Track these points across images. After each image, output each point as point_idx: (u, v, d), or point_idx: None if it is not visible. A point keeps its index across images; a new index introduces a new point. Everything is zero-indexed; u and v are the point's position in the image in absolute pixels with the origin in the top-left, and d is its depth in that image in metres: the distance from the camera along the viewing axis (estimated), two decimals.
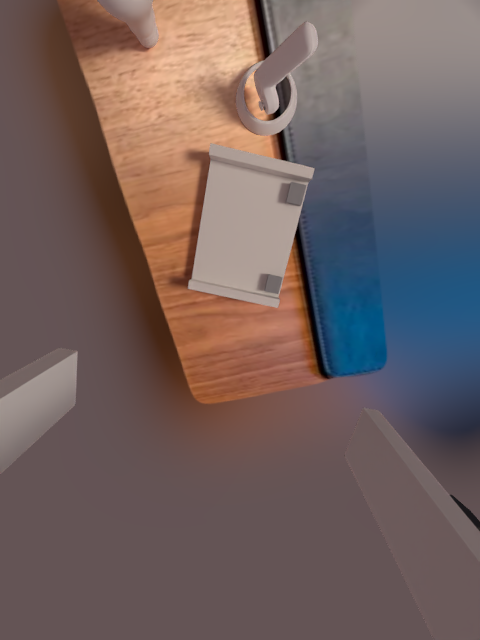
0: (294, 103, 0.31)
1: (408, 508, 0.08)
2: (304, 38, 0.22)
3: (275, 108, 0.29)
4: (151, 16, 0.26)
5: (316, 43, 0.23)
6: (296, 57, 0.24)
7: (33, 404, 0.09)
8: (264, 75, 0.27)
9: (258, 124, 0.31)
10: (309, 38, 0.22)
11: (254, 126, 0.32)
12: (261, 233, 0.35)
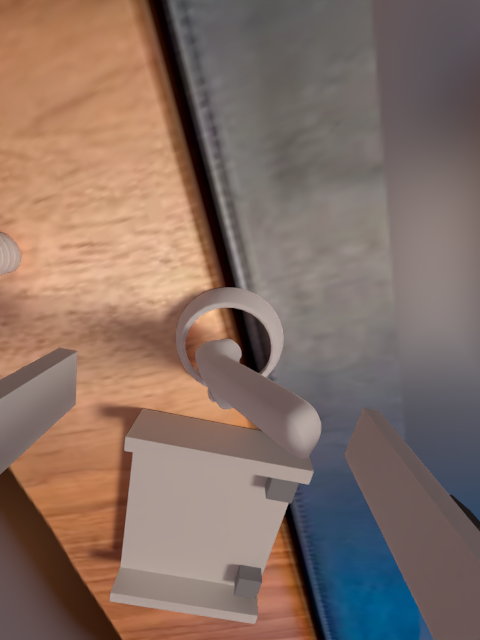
0: (278, 356, 0.17)
1: (408, 508, 0.08)
2: (286, 440, 0.09)
3: None
4: None
5: (317, 439, 0.09)
6: None
7: (33, 404, 0.09)
8: (210, 384, 0.13)
9: None
10: (299, 446, 0.09)
11: None
12: (227, 520, 0.21)
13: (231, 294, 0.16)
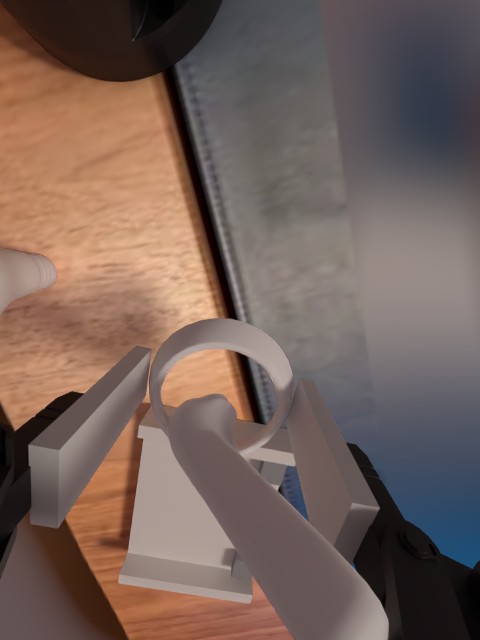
0: (287, 410, 0.13)
1: (314, 453, 0.09)
2: None
3: None
4: (25, 286, 0.16)
5: None
6: None
7: (128, 393, 0.10)
8: (188, 477, 0.08)
9: None
10: None
11: None
12: None
13: (223, 329, 0.12)
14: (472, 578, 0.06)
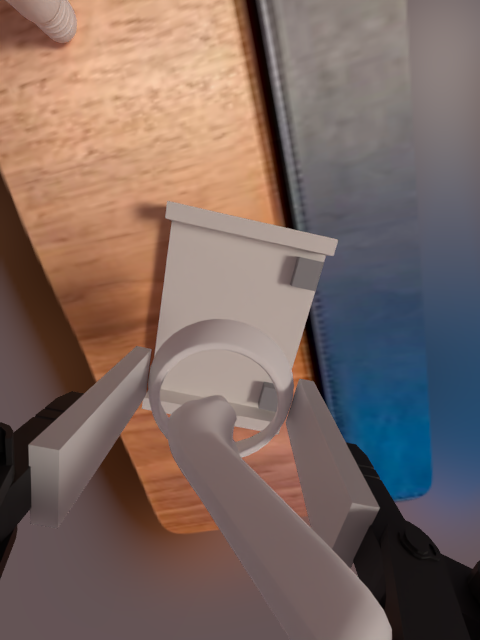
0: (287, 412, 0.13)
1: (314, 453, 0.09)
2: None
3: None
4: None
5: None
6: None
7: (128, 393, 0.10)
8: (188, 480, 0.08)
9: None
10: None
11: None
12: None
13: (223, 330, 0.12)
14: (472, 578, 0.06)
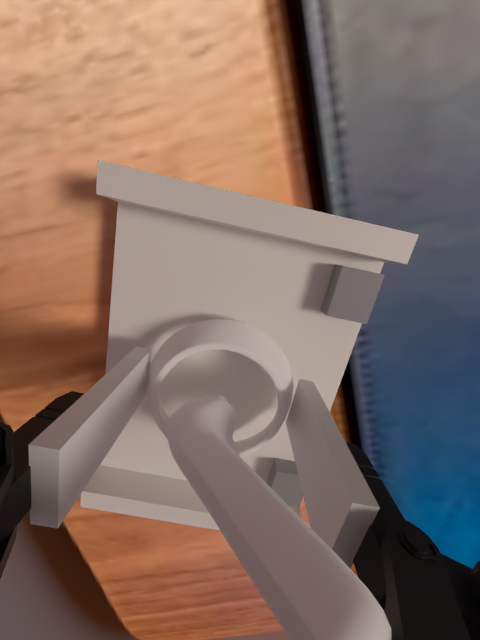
0: (287, 412, 0.13)
1: (314, 453, 0.09)
2: None
3: None
4: None
5: None
6: None
7: (128, 393, 0.10)
8: None
9: None
10: None
11: None
12: (259, 377, 0.14)
13: (223, 330, 0.12)
14: (471, 578, 0.06)
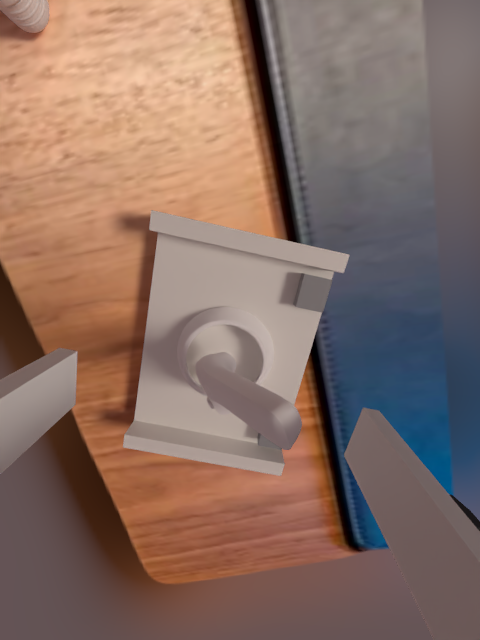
0: (269, 367, 0.19)
1: (408, 508, 0.08)
2: (272, 433, 0.11)
3: None
4: None
5: (298, 433, 0.11)
6: (260, 433, 0.12)
7: (33, 404, 0.09)
8: (209, 392, 0.15)
9: None
10: (283, 437, 0.11)
11: None
12: (251, 352, 0.20)
13: (227, 313, 0.18)
14: None
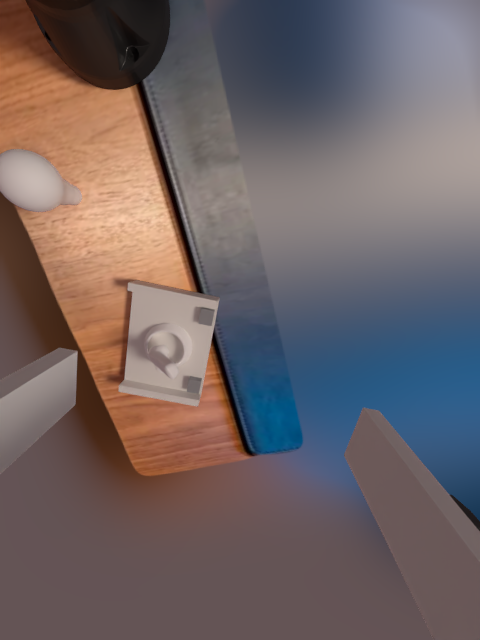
0: (188, 352, 0.39)
1: (408, 508, 0.08)
2: (166, 373, 0.31)
3: None
4: (68, 196, 0.32)
5: (176, 373, 0.31)
6: None
7: (33, 404, 0.09)
8: (153, 361, 0.35)
9: None
10: (169, 374, 0.31)
11: None
12: (181, 344, 0.40)
13: (166, 326, 0.38)
14: None
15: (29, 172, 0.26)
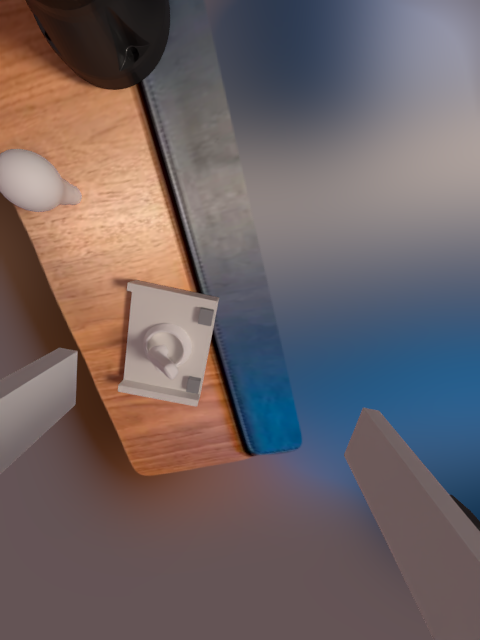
0: (188, 352, 0.39)
1: (408, 508, 0.08)
2: (166, 373, 0.31)
3: None
4: (68, 195, 0.32)
5: (176, 373, 0.31)
6: None
7: (33, 404, 0.09)
8: (152, 361, 0.35)
9: None
10: (169, 374, 0.31)
11: None
12: (180, 344, 0.40)
13: (165, 326, 0.38)
14: None
15: (29, 172, 0.26)
